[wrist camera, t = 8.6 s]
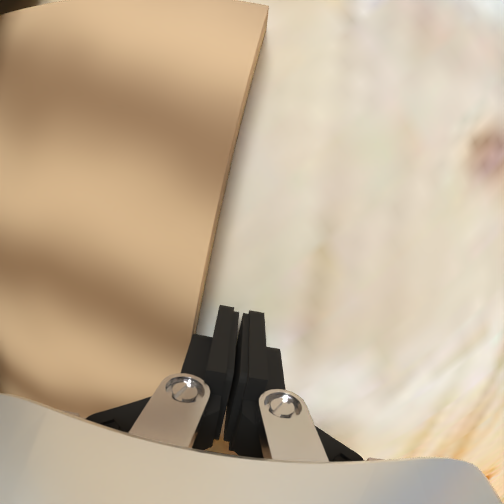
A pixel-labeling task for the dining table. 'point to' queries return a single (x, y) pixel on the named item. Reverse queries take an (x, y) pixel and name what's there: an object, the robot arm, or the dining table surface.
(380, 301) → the dining table surface
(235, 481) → the robot arm
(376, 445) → the dining table surface
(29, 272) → the board
